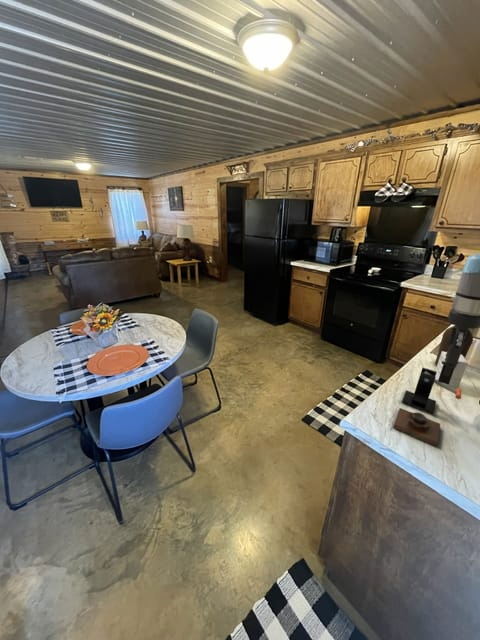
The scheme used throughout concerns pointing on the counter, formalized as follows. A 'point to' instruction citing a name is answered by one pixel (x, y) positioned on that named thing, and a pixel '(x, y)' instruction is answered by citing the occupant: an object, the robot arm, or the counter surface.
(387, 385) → the counter surface
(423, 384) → the switch bracket
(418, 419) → the button
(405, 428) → the button block
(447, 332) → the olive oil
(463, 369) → the white packaging box
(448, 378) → the robot arm
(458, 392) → the switch
